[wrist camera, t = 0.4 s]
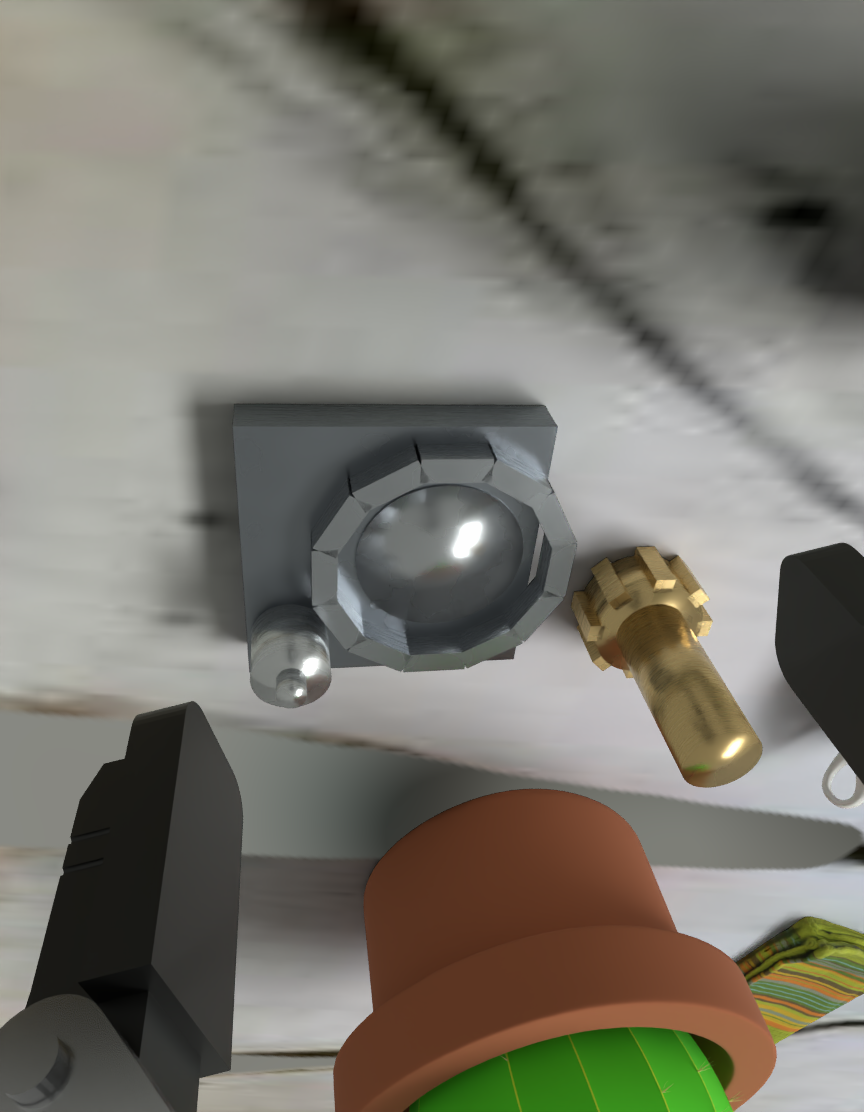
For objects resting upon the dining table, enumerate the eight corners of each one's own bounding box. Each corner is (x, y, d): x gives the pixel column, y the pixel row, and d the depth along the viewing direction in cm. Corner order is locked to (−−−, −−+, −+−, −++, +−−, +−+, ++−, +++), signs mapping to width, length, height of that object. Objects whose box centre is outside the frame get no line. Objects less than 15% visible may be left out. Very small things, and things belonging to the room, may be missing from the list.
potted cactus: (732, 839, 54) (1002, 1359, 34) (491, 990, 61) (596, 1492, 41) (517, 702, 42) (733, 1361, 23) (253, 908, 50) (242, 1542, 30)
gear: (584, 548, 37) (669, 711, 29) (704, 545, 38) (819, 702, 30) (561, 645, 40) (632, 814, 32) (672, 639, 41) (767, 802, 33)
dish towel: (912, 943, 69) (936, 981, 66) (624, 1120, 84) (635, 1157, 81) (804, 906, 62) (827, 947, 59) (511, 1106, 77) (519, 1146, 74)
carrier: (234, 404, 30) (227, 482, 26) (576, 405, 33) (624, 478, 28) (250, 644, 37) (247, 738, 33) (530, 632, 40) (563, 718, 35)
